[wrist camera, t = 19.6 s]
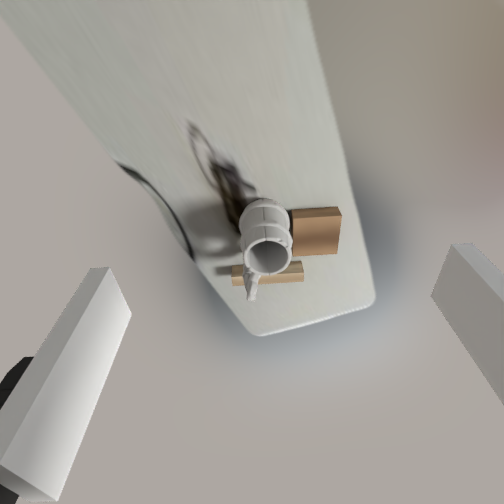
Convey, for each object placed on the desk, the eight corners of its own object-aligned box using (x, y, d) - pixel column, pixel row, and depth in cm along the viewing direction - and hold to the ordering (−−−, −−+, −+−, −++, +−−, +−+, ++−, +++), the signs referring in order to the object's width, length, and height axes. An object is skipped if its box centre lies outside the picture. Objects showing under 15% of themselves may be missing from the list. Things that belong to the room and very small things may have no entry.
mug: (297, 205, 46) (310, 253, 36) (267, 262, 52) (271, 316, 43) (249, 189, 44) (250, 235, 35) (224, 250, 51) (219, 303, 41)
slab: (291, 208, 47) (293, 218, 44) (337, 205, 46) (341, 215, 44) (290, 245, 51) (292, 256, 48) (332, 242, 51) (336, 253, 48)
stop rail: (232, 265, 53) (231, 277, 50) (301, 261, 52) (303, 272, 50) (233, 274, 54) (232, 285, 52) (301, 269, 54) (303, 281, 51)
